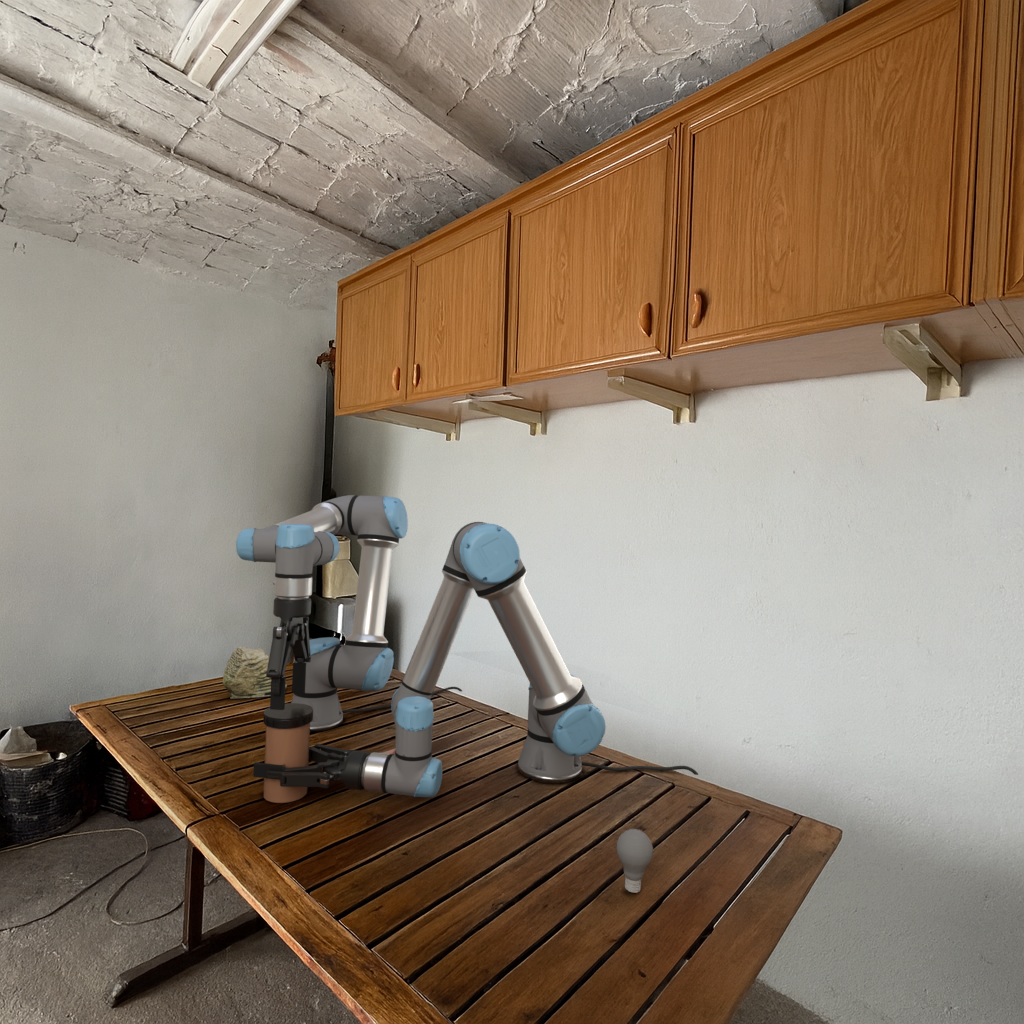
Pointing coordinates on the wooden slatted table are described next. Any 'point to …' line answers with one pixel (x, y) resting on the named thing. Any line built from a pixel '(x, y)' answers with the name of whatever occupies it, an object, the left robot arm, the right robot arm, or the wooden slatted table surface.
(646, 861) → the light bulb
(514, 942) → the wooden slatted table surface
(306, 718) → the lid
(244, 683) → the fossil
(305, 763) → the jar
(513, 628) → the right robot arm
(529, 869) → the wooden slatted table surface
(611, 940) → the wooden slatted table surface
